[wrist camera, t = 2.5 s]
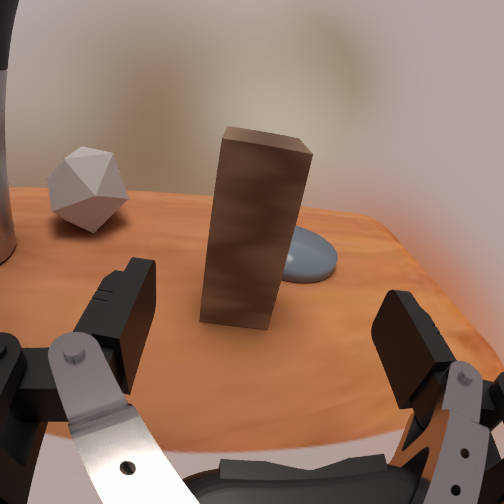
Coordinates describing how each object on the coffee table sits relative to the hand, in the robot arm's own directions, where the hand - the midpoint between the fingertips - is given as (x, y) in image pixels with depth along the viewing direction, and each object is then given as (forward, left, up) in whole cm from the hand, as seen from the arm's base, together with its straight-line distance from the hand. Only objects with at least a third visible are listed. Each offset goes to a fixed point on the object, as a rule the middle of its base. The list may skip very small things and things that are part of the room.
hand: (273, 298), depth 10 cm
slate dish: (+11, +18, -10) cm, 23 cm away
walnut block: (+3, +11, -10) cm, 15 cm away
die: (-10, +26, -10) cm, 29 cm away
